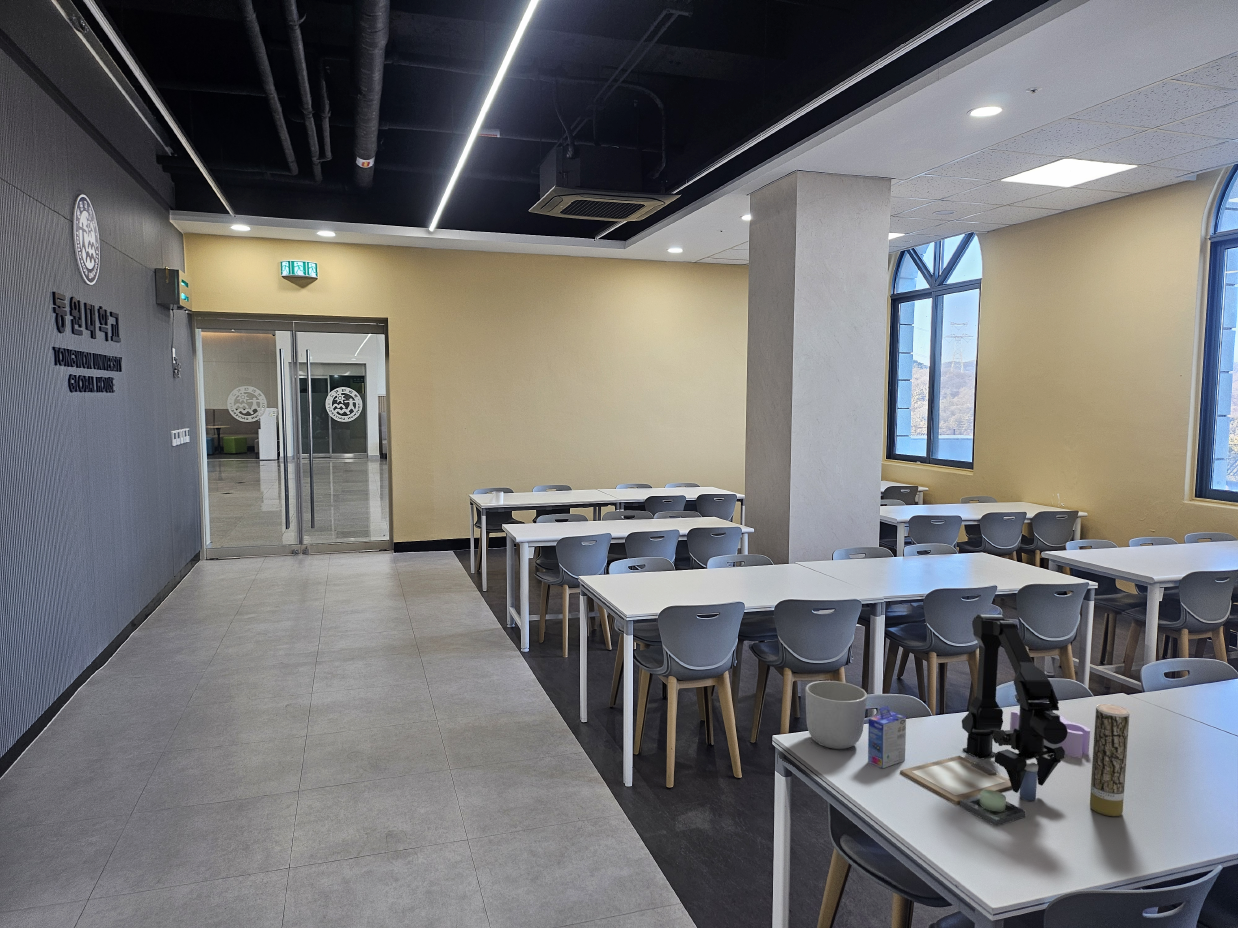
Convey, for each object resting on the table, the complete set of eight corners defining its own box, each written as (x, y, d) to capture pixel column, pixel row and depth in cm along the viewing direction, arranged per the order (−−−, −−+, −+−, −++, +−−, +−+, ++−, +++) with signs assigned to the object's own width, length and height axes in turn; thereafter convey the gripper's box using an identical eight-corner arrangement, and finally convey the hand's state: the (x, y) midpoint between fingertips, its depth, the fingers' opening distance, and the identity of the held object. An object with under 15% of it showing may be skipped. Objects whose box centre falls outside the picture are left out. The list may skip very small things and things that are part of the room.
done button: (990, 797, 193) (991, 787, 193) (1010, 808, 188) (1011, 798, 188) (974, 802, 190) (974, 792, 190) (994, 813, 185) (995, 802, 185)
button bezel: (988, 797, 196) (988, 791, 196) (1025, 816, 187) (1025, 810, 187) (960, 806, 192) (960, 800, 191) (996, 825, 183) (996, 819, 182)
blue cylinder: (1025, 793, 199) (1027, 759, 198) (1039, 799, 196) (1041, 765, 195) (1015, 796, 197) (1017, 762, 197) (1029, 802, 194) (1031, 768, 193)
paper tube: (1122, 820, 186) (1129, 716, 185) (1089, 812, 190) (1095, 710, 188) (1122, 808, 192) (1129, 707, 190) (1089, 800, 196) (1096, 701, 194)
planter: (813, 726, 238) (815, 676, 237) (871, 739, 230) (873, 687, 229) (795, 746, 224) (797, 693, 223) (856, 760, 215) (858, 706, 214)
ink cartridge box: (889, 753, 221) (891, 702, 220) (906, 760, 216) (908, 708, 215) (865, 761, 215) (868, 709, 214) (882, 769, 211) (885, 716, 210)
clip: (1096, 751, 225) (1097, 727, 225) (1073, 761, 218) (1074, 736, 218) (1027, 726, 242) (1028, 704, 241) (1004, 735, 235) (1005, 712, 235)
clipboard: (959, 758, 218) (959, 753, 218) (1017, 786, 202) (1017, 781, 202) (900, 772, 209) (900, 767, 208) (956, 804, 192) (956, 798, 192)
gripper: (1027, 709, 207) (1023, 767, 208) (977, 720, 198) (974, 781, 199) (1068, 725, 197) (1064, 786, 198) (1017, 737, 188) (1013, 801, 189)
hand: (1028, 788), depth 196 cm, fingers open, 9 cm apart
